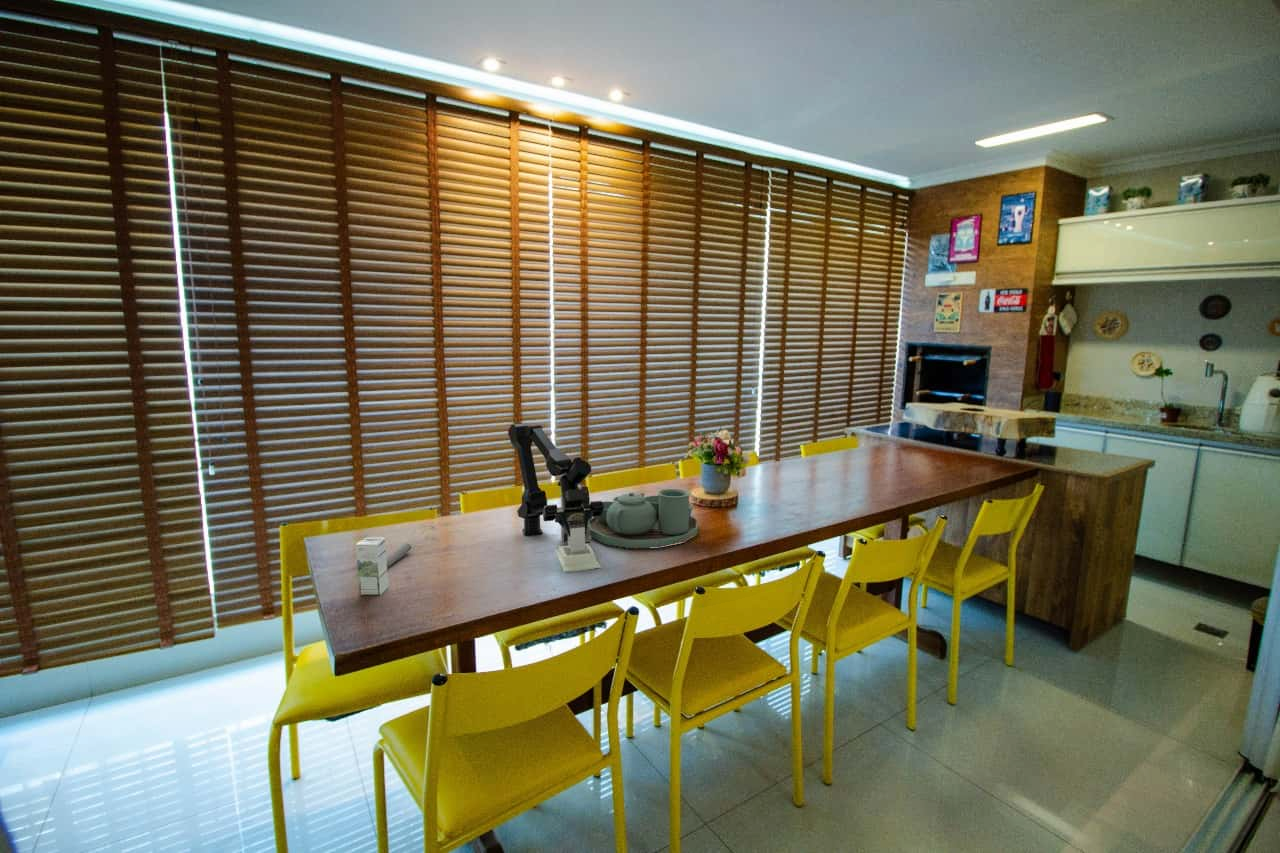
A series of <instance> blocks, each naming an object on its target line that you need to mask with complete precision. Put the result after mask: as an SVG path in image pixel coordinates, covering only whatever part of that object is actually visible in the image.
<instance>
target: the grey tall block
mask: <svg viewBox="0 0 1280 853" xmlns="http://www.w3.org/2000/svg"><path fill="white" fill-rule="evenodd" d="M568 525H569V529H570V537H569V536H568V545H567V546H568V553H569V555H578V554H585V544H586V543H585V524H584V522H583V521H582V520H574V521H568Z"/></svg>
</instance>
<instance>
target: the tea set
mask: <svg viewBox="0 0 1280 853" xmlns="http://www.w3.org/2000/svg"><path fill="white" fill-rule="evenodd" d="M656 493H657V495H649V496H645V494H644V492H641V493H639V494H638V493H633V492H629V493H625V494H624V493H623V494H622V495H619V496H616V497H614V498H613V499H612V501H606V500H605V501H602V502H603V503H604V510H603V513H602V515H601V516H598V517H592V519H590V538H591V537H592V539H593V538H594V539H593V540H595V539H596V540H595V541H597V540H598V542H599V541H600V542H599V543H601V542H602V543H601V544H603V543H604V544H603V545H605V544H608V545H607V546H610V545H614V546H613V547H616V546H620V547H619V548H622V547H626V548H625V549H628V548H650V547H661V546H666V545H670V544H675V543H679V542H684V541H686V540H687V539H689V538H690V537H692V536H694V535H695V534H697V535H698V534H699V533H698V530H699V528H698V527H699V526H698V519H697V518H696V517H693V516H692V515H691V514H692V510H693V508H694V504H692V503H690V495H691V492H690V491H689V490H687V489H682V488H660V489H659V490H658V491H657V492H656Z"/></svg>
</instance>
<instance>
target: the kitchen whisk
mask: <svg viewBox="0 0 1280 853" xmlns="http://www.w3.org/2000/svg"><path fill="white" fill-rule="evenodd" d="M432 524H433V525H432ZM428 526H429V527H431V528H428V529H427V530H425V529H426V528H427V527H428ZM422 527H423V529H422V531H423V532H422V533H421V532H420V534H417V535H416V536H415V537H414V538H413V539H412V537H413V535H414V534H415V533H416V531H413V534H411V535H410V537H409V538H408V539H407V541H406V543H404V544H403V545H402V546H399V548H398V549H396V550H394V551H393V552H392V553H391V554H389V555H388V556H386V561H387V569H388V568H389V567H391V566H392V565H393V564H394V563H396V562H397V561H398V560H399V559H401V558H402V557H403V556H405V555H406V554H407V553H409V552H410V551H411V550H412V549H413V548H414V549H416V548H417V547H418V548H420V547H421V545H423V544H424V543H427V542H428V541H430V540H432V538H433V539H434V538H435V537H436V536H437V535H438V533H439V532H438V529H437V527H438V526H435V524H434V522H431V523H428V525H425V522H423V523H422V524H420V525H419V526H418V527H417V529H416V530H419V529H421V528H422ZM424 530H425V531H424ZM429 530H431V531H430V532H429V533H427V534H426V535H424V536H423V537H421V538H420V539H418V540H417V541H415V542H414V543H412V542H413V541H414V540H415V539H416V538H417V537H419V536H420V535H422V534H423V533H425V532H426V531H429ZM435 530H436V532H437V533H436V534H435V535H433V536H432V538H430V539H429V540H426V541H423V542H421V543H419V544H418V545H417V544H416V546H415V545H414V544H415V543H417V542H419V541H420V540H421V539H423V538H425V537H426V536H427V537H429V536H430V534H431V533H432V532H433V531H435ZM411 539H412V540H411ZM411 543H412V544H411ZM412 545H414V546H412Z"/></svg>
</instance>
